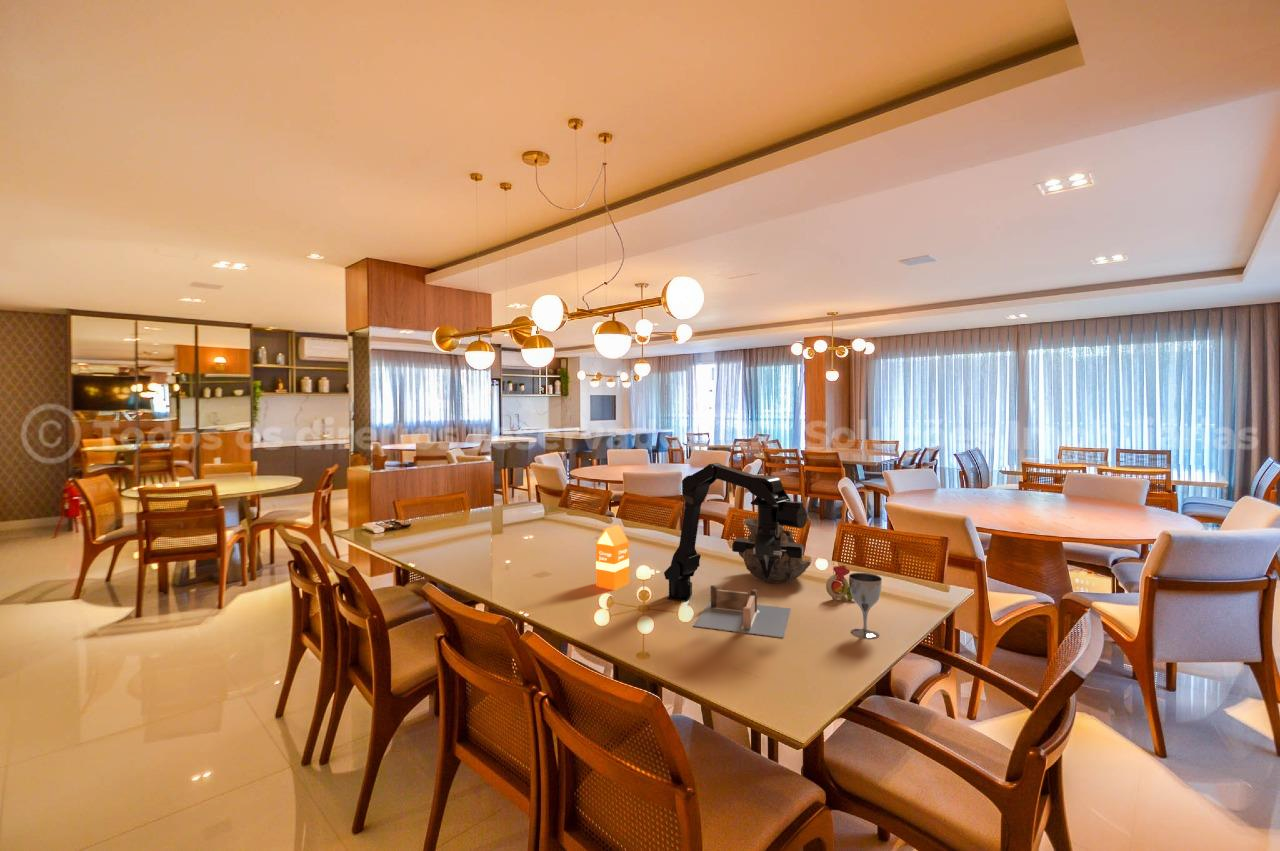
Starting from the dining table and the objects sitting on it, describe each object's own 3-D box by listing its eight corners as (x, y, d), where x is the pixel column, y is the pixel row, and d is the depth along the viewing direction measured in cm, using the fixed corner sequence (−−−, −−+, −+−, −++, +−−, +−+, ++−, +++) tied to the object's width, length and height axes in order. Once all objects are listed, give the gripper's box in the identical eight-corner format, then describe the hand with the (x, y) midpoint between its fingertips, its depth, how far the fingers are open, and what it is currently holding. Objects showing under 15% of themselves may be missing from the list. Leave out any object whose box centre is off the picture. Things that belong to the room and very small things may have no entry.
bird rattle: (841, 610, 170) (864, 595, 172) (828, 578, 168) (851, 564, 171) (828, 603, 176) (851, 589, 178) (816, 572, 174) (839, 559, 177)
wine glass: (880, 629, 149) (880, 574, 149) (882, 641, 142) (882, 582, 141) (848, 626, 152) (848, 571, 152) (849, 637, 145) (849, 580, 144)
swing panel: (749, 611, 162) (749, 593, 161) (756, 612, 161) (756, 594, 161) (742, 628, 149) (742, 609, 149) (750, 629, 148) (750, 609, 148)
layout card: (692, 626, 153) (692, 625, 153) (710, 600, 173) (710, 599, 173) (783, 638, 144) (783, 636, 144) (790, 609, 165) (790, 608, 165)
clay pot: (738, 568, 208) (737, 511, 207) (803, 570, 205) (803, 512, 204) (740, 589, 183) (740, 524, 183) (815, 592, 180) (815, 526, 179)
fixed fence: (710, 608, 166) (710, 587, 166) (711, 606, 168) (711, 585, 168) (756, 614, 162) (756, 591, 161) (757, 611, 163) (757, 589, 163)
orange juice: (629, 583, 191) (629, 525, 191) (614, 590, 184) (614, 529, 183) (610, 579, 196) (610, 522, 195) (595, 586, 188) (595, 527, 188)
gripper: (728, 525, 150) (727, 583, 150) (800, 531, 143) (799, 591, 144) (736, 517, 160) (735, 571, 161) (804, 523, 153) (802, 579, 154)
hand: (767, 578), depth 155 cm, fingers closed
